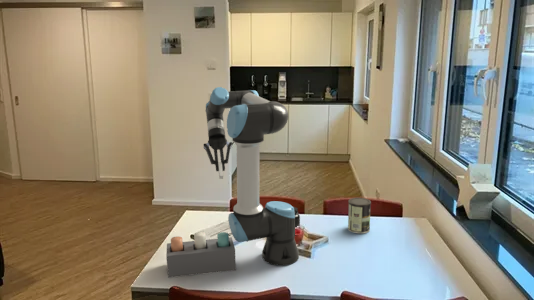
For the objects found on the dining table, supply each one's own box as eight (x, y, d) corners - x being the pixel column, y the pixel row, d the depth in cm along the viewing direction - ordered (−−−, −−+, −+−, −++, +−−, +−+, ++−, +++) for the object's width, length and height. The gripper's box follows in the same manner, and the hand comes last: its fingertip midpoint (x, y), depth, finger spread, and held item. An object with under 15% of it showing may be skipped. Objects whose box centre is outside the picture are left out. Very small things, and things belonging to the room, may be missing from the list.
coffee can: (367, 224, 217) (368, 197, 214) (371, 233, 207) (373, 204, 204) (346, 224, 218) (346, 197, 214) (349, 233, 208) (350, 205, 204)
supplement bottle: (298, 236, 206) (298, 211, 203) (284, 235, 207) (283, 210, 204) (300, 230, 212) (300, 206, 209) (286, 229, 213) (286, 205, 211)
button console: (232, 257, 186) (231, 237, 184) (235, 270, 176) (235, 249, 174) (168, 264, 182) (166, 243, 179) (167, 277, 171) (166, 255, 169)
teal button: (228, 245, 181) (227, 231, 180) (229, 250, 177) (229, 236, 176) (217, 246, 181) (216, 232, 179) (218, 251, 176) (217, 237, 175)
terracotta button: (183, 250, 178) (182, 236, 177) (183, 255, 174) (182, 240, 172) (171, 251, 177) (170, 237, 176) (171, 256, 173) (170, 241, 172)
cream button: (205, 245, 179) (205, 231, 178) (206, 250, 175) (205, 236, 174) (194, 246, 179) (193, 232, 177) (195, 251, 174) (194, 237, 173)
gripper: (230, 135, 207) (235, 180, 195) (201, 136, 205) (205, 182, 193) (231, 125, 201) (237, 172, 189) (201, 127, 199) (206, 174, 187)
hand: (221, 177), depth 191 cm, fingers closed
